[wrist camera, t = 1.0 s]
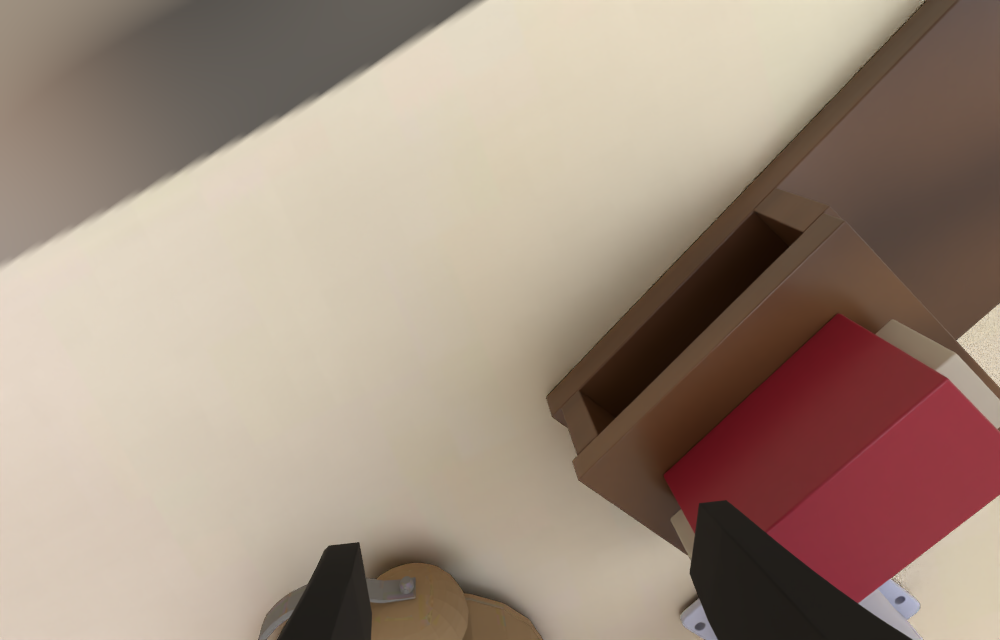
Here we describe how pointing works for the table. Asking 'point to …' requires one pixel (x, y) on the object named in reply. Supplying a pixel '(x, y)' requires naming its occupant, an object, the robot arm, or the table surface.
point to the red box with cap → (852, 454)
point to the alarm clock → (424, 609)
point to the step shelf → (810, 258)
